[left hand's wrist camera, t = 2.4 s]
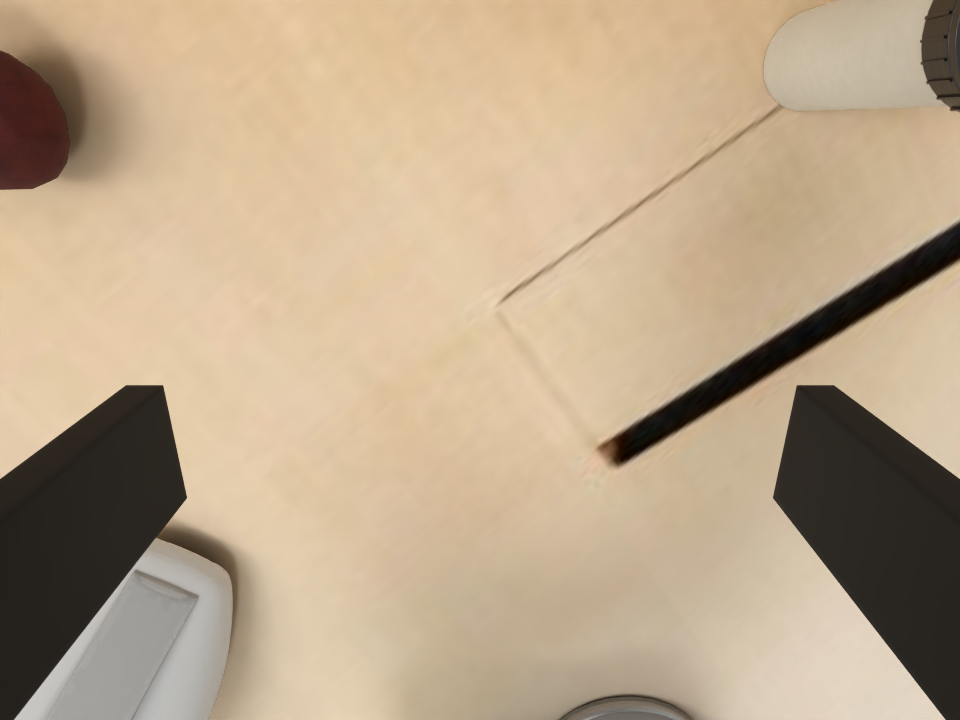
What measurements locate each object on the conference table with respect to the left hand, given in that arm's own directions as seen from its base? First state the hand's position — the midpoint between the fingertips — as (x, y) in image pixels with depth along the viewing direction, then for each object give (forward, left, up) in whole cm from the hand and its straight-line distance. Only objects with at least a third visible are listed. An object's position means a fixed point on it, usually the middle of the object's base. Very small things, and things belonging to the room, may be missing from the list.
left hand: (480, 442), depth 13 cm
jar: (+10, -19, -28) cm, 35 cm away
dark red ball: (+6, +27, -28) cm, 39 cm away
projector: (-34, +29, -28) cm, 53 cm away
